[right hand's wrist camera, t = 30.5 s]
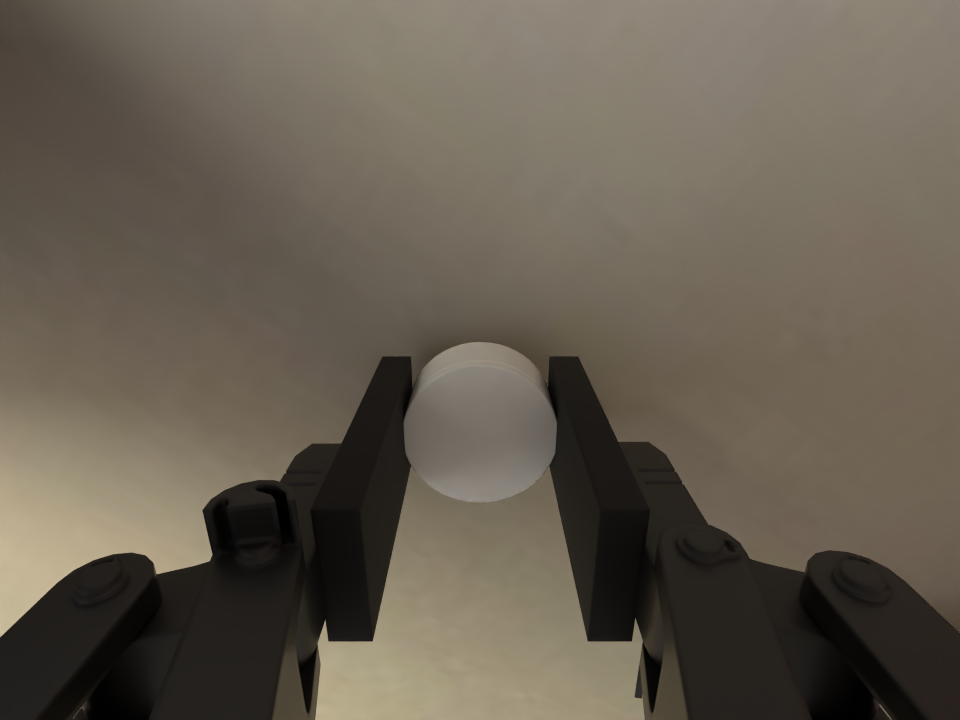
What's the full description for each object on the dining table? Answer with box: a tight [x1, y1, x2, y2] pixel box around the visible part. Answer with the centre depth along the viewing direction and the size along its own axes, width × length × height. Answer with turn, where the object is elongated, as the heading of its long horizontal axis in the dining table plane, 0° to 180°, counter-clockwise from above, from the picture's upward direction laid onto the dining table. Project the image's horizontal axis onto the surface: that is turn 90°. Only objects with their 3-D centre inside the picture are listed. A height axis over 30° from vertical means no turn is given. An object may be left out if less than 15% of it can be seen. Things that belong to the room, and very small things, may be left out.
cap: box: [404, 342, 557, 503], centre depth 14 cm, size 4×4×2 cm
